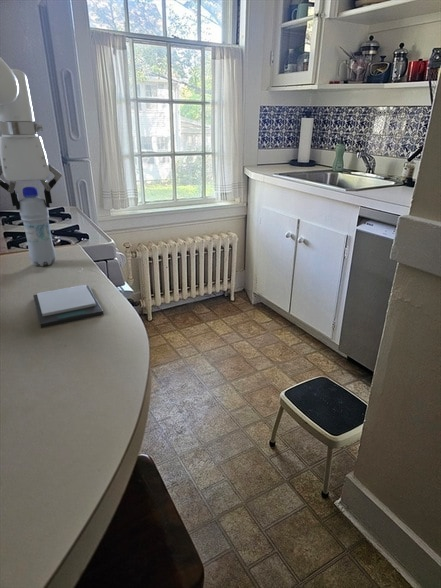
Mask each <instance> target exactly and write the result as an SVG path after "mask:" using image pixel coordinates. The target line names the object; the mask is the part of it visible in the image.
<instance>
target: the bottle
mask: <svg viewBox="0 0 441 588" xmlns="http://www.w3.org/2000/svg"><path fill="white" fill-rule="evenodd" d="M22 196H23V198H22V199H19V206H20V209H19V216H20V219H21V221H22V223H23V227H24V232H25V237H26V242H27V248H28V255H29V259H30V261H31V263H32V264H33V265H34V266H36V267H38V266H40V267H44V265H45V263H46V265H48V266H51V265H52V264H54V263H56V250H55V246H54V243H53V237H52V233H51V226H50V221H49V220H50V215H49V209H48V207H47V205H46V200H45V198H43V197H40V196H39V191H38V189H37V188H36V187H35V186H25V187H23V188H22Z"/></svg>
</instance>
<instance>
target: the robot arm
mask: <svg viewBox="0 0 441 588" xmlns="http://www.w3.org/2000/svg"><path fill="white" fill-rule="evenodd" d="M29 87H30V86H29V81H28V77H27V75H26V73H25V72H24V71H22V70H20V69H18V68H17V69H16V68H10V66H9V65H8V63H6V62H5V60H4V59H3V58H2V57H1V56H0V135H1V136H0V164H1V165H0V176H1V175H3V177H4V179H5V180H6V181H7V182H9V183H7V182H6V181H4V180H3V179H2V178H0V187H1V188H3V189H4V190H6V191H7V192H8V193H9V195H10V199H11V203H12V207H15V209H16V211H20V206H19V201H20V199H19V194H18V191H17V190H16V189H15V188H16V184H17V182H33V181H40V183H41V184H42V186H43V187H44V188H43V189H44V190H43V194H44V200H45V202H46V205H47V208H51V204H53V200H52V195H51V191H52V189H53V188H54V187H55V186H56V184H57V182H58V181H60V179H61V178H62V176H63V174H62V173H61V172H60V171H59V170H58V169H56V167H54V166H52V165H51V164H50V163H49V161H48V157H47V152H46V149H45V144H44V141H43V139H42V136H41V135H38V132H43V131H44V129H43V124H39V123H37V122H35V121H36V120H35V114H34V110H33V109H34V108H33V104H32V97H31V92H30V88H29ZM50 173H51V174H53V177H52V178H51V179H50V180H49V181H48V180H47V179H49V178H50Z"/></svg>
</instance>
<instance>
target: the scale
mask: <svg viewBox="0 0 441 588" xmlns="http://www.w3.org/2000/svg"><path fill="white" fill-rule="evenodd" d="M33 300H34V304H35V309H36V313H37V317H38V322H39V327H40V329H44V328H49V327H54V326H58V325H63V324H68V323H72V322H73V323H74V322H77V321H81V320H86V319H92V318H96V317H101V316H104V315H105V313H104V310H103V308H102V307H101V305H100V303H99V301H98V299H97V298H96V296H95V295H94V293H93V291H92V289H91V287H90V286H89V285H86V284H81V285H76V286H69V287H63V288H58V289H53V290H47V291H41V292H37V293H36V294H33Z"/></svg>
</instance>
